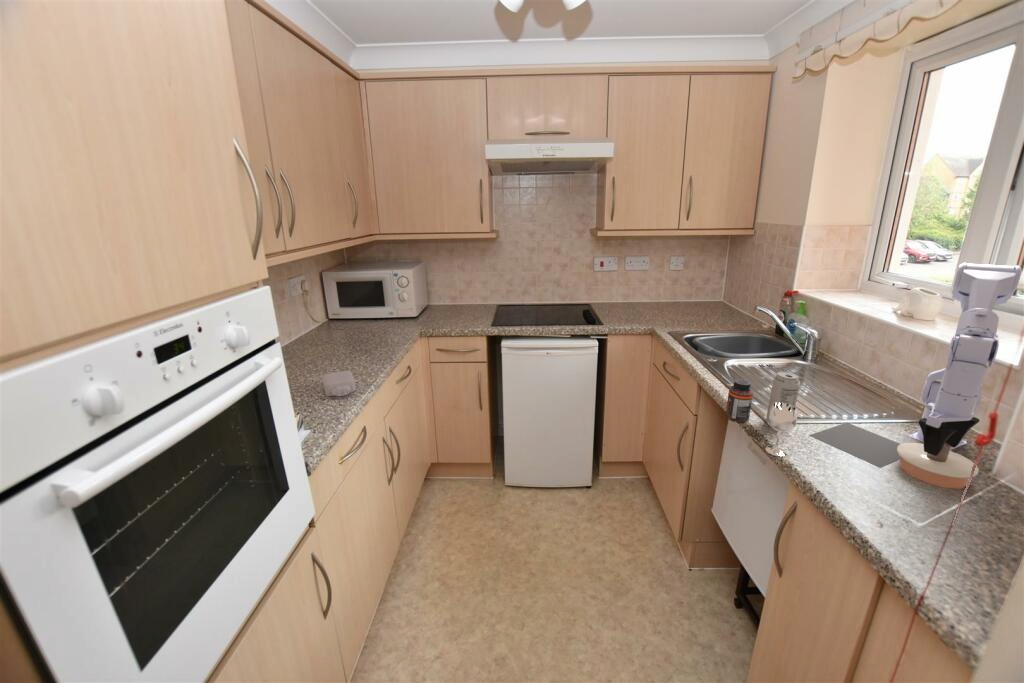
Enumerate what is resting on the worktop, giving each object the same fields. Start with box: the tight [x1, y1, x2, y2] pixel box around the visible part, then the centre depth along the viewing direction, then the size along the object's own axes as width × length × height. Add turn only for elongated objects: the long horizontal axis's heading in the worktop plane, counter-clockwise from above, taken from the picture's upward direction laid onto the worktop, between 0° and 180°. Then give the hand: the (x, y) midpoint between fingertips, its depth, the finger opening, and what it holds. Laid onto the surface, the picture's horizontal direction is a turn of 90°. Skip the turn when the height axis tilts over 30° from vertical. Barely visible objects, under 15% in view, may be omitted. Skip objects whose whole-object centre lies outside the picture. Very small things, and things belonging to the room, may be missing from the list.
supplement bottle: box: [725, 378, 754, 423], centre depth 121 cm, size 6×6×11 cm
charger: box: [322, 370, 357, 397], centre depth 142 cm, size 5×9×15 cm
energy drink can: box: [765, 371, 801, 427], centre depth 116 cm, size 6×6×15 cm
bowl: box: [898, 457, 969, 490], centre depth 96 cm, size 11×11×4 cm
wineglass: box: [765, 402, 798, 457], centre depth 104 cm, size 6×6×12 cm
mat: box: [808, 422, 901, 469], centre depth 109 cm, size 16×16×1 cm
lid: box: [897, 442, 980, 478], centre depth 95 cm, size 13×13×4 cm
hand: (940, 449), depth 95 cm, fingers open, 7 cm apart
